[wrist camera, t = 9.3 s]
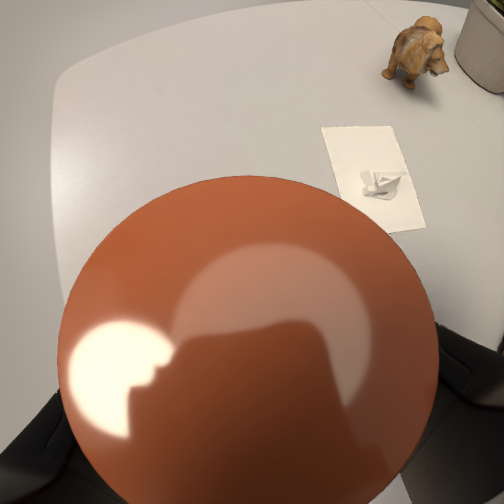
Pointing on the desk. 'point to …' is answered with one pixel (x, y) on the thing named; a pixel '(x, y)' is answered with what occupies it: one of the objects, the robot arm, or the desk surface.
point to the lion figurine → (418, 51)
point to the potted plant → (483, 44)
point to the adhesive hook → (374, 175)
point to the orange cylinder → (248, 349)
